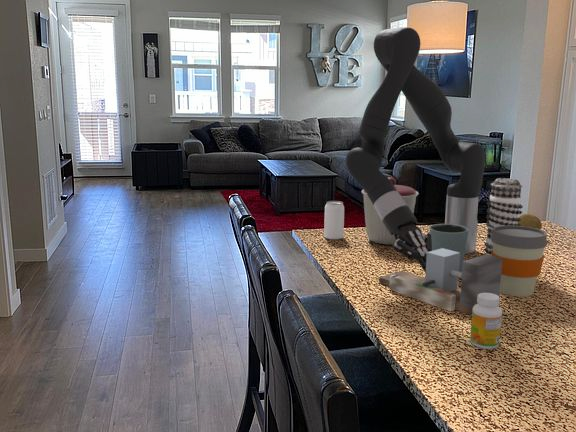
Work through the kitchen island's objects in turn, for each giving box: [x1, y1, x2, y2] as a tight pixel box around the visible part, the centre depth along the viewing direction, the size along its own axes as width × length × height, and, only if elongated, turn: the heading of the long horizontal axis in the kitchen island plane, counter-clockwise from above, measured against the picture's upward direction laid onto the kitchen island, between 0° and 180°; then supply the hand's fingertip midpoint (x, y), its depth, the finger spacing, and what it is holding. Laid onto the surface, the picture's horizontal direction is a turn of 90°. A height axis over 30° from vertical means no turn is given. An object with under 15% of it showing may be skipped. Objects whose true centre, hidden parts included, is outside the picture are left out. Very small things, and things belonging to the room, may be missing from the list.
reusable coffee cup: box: [491, 226, 548, 297], centre depth 137 cm, size 13×12×15 cm
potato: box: [518, 213, 543, 230], centre depth 190 cm, size 7×8×8 cm
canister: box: [361, 176, 420, 246], centre depth 182 cm, size 18×18×21 cm
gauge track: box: [378, 254, 503, 316], centre depth 134 cm, size 28×11×12 cm, turn 38°
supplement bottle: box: [469, 293, 503, 350], centre depth 108 cm, size 5×5×10 cm
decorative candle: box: [483, 177, 524, 255], centre depth 153 cm, size 9×9×25 cm
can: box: [323, 200, 345, 241], centre depth 187 cm, size 6×6×12 cm
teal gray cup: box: [429, 223, 469, 273], centre depth 153 cm, size 10×10×12 cm
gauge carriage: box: [423, 248, 462, 292], centre depth 131 cm, size 8×10×9 cm
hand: (431, 271), depth 136 cm, fingers closed
